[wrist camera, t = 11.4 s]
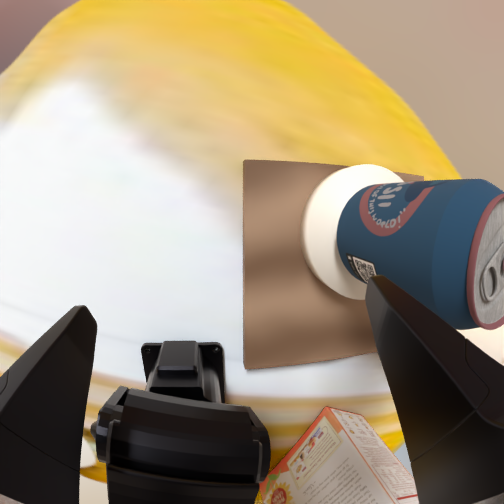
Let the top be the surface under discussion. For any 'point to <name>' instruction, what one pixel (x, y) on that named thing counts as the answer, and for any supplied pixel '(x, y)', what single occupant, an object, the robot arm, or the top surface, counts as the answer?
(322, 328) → the plinth board
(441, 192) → the soda can
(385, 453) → the cracker box
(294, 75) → the top surface
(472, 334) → the foam cup
